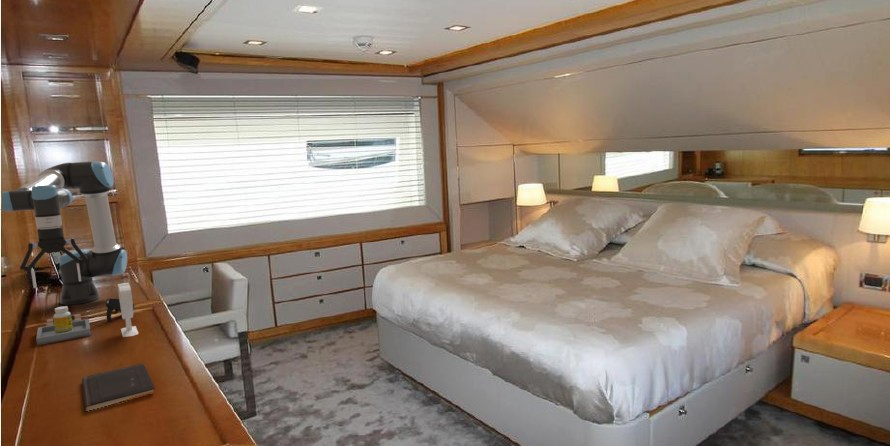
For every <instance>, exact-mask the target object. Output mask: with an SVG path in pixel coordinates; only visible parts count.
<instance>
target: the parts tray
mask: <svg viewBox="0 0 890 446" xmlns="http://www.w3.org/2000/svg"><path fill="white" fill-rule="evenodd" d="M89 319H90V318H84V319H81V320H78V321H73V322H72V327H73V331H71V332H65V333H60V334H56V332H55V325H50V326H46V325H45V326H40V327H37V332H36V345H37V346H42V345H46V344H52V343H58V342H63V341H69V340H74V339H78V338H83V337H89V336H92V332H91V326H90V320H89Z"/></svg>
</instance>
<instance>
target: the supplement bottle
mask: <svg viewBox="0 0 890 446" xmlns="http://www.w3.org/2000/svg"><path fill="white" fill-rule="evenodd" d="M68 307H69V306H68V305H65V306H58V307H56V308H54V312H55V313H54V314H53V317H52V318H54V325H55V332H56V334H60V333H65V332H71V331H73V327H72V319H71V315H72V314H71V312H70V311H69V308H68Z"/></svg>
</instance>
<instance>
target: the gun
mask: <svg viewBox="0 0 890 446" xmlns="http://www.w3.org/2000/svg"><path fill="white" fill-rule="evenodd" d="M105 301H106V302H105V306H106V308H107V309H106V320H107V322H113V319H112V314H117V313H119V312H120V313H121V307H120V301H119V297H117V298H106V300H105ZM135 309H136V308H135V303H133V312H134V310H135Z"/></svg>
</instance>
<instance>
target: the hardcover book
mask: <svg viewBox="0 0 890 446" xmlns="http://www.w3.org/2000/svg"><path fill="white" fill-rule="evenodd" d="M81 384H82V393H83V403H84V404H83V405H84V410H85V413H87V412H86V411H88V412H90V411H89V410H92V411H94V410H93V409H95V410H98V409H97V408H99V409H102V408H101V407H103V408H105V407H104V406H107V407H109V406H108V405H111V404H114V403H118V402H120V401H123V400H126V399H129V398H132V397H135V396H139V395H142V394H146V393H149V392H153V391H154V390H155V389H156V388H155V386H154V383H153V381H152V379H151V377H150V373H149V371H148V370H147V367H146V365H145V362H144V363H139V364H134V365H129V366H126V367H121V368H118V369H113V370H108V371H104V372H100V373H95V374H90V375H86V376H83V377H82V378H81ZM118 404H119V403H118ZM111 406H112V405H111Z"/></svg>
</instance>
